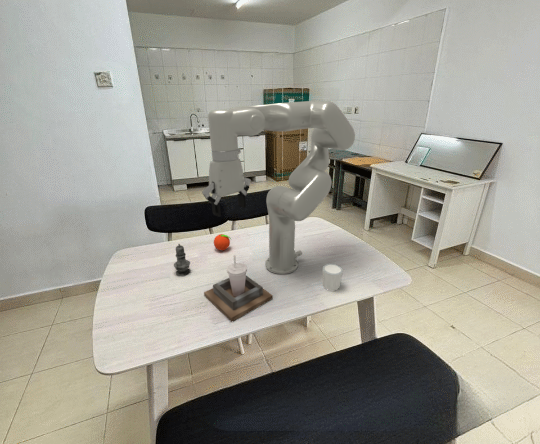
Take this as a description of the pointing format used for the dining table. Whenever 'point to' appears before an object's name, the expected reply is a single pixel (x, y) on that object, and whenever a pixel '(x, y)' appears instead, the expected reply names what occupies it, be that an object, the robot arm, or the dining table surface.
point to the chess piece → (181, 262)
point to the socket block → (237, 298)
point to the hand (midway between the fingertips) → (230, 210)
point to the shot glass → (332, 276)
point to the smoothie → (237, 277)
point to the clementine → (222, 242)
